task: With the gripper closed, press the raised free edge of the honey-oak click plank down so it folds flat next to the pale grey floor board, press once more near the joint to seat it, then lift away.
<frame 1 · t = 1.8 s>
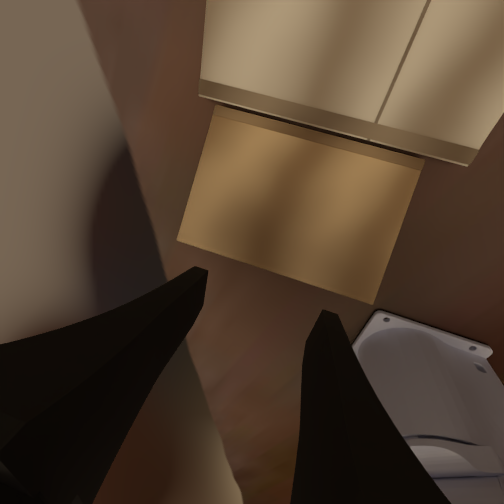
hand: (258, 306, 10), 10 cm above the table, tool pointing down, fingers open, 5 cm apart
floor board: (352, 48, 14), on the table
click plank: (292, 204, 16), point 3 cm above the table, hinge at 28.0°
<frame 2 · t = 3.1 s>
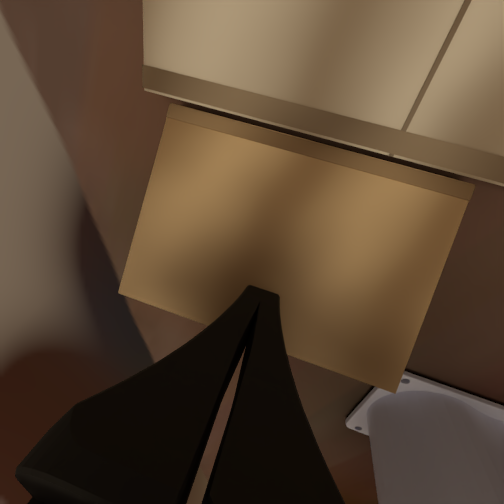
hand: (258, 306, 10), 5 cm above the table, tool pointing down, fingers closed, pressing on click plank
floor board: (367, 17, 9), on the table
click plank: (279, 243, 11), point 3 cm above the table, hinge at 28.0°, touching gripper
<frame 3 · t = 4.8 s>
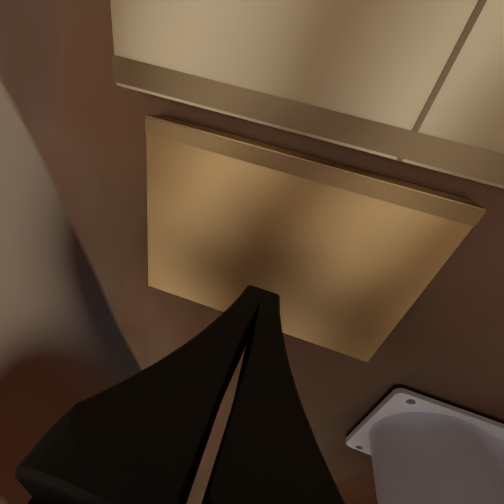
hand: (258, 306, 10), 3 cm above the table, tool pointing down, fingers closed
click plank: (275, 251, 12), point 1 cm above the table, hinge at 0.5°
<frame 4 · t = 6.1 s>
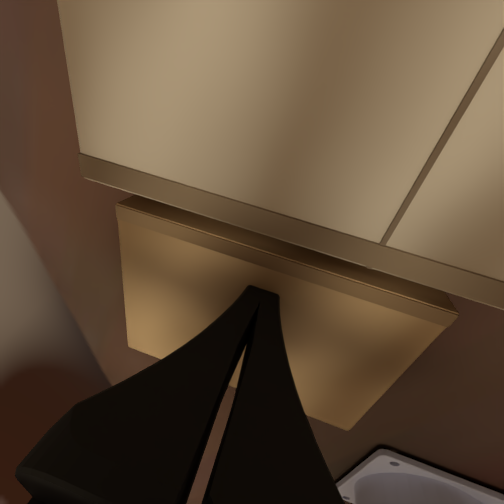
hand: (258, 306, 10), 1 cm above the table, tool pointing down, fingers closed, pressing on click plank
floor board: (339, 109, 7), on the table
click plank: (252, 325, 12), point 1 cm above the table, hinge at 0.5°, touching gripper
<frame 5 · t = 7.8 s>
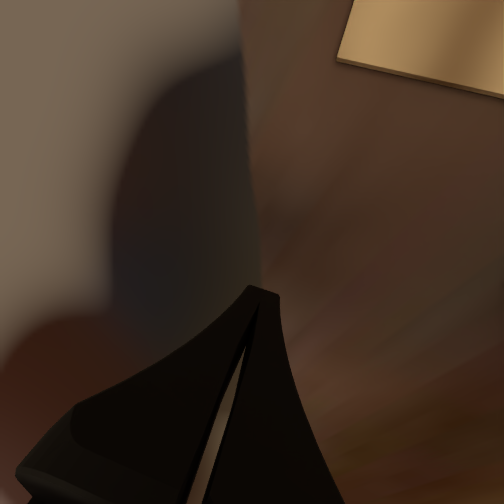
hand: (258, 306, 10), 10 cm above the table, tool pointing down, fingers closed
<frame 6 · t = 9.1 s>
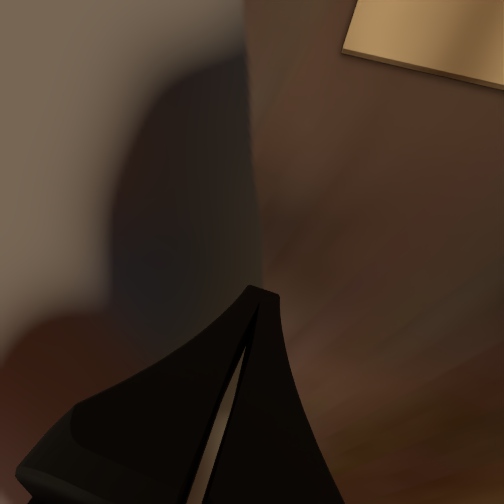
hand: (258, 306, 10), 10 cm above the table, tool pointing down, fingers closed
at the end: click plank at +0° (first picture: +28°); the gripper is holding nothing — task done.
